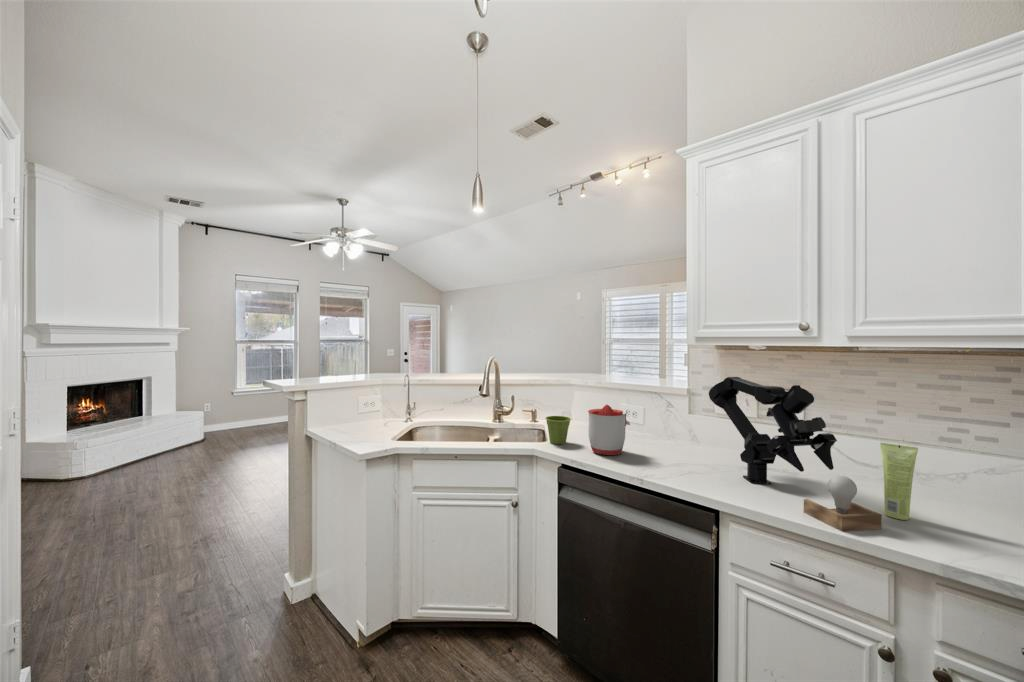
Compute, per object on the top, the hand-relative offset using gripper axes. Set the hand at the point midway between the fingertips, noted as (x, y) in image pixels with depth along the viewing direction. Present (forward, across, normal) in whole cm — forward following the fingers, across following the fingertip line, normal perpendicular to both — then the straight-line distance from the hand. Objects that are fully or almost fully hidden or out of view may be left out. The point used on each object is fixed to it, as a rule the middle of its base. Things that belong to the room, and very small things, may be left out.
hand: (817, 470), depth 118 cm
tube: (+14, +17, +2) cm, 22 cm away
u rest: (+13, 0, +2) cm, 13 cm away
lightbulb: (+13, 0, +1) cm, 13 cm away
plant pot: (-46, -56, +65) cm, 98 cm away
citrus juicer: (-34, -38, +53) cm, 74 cm away
